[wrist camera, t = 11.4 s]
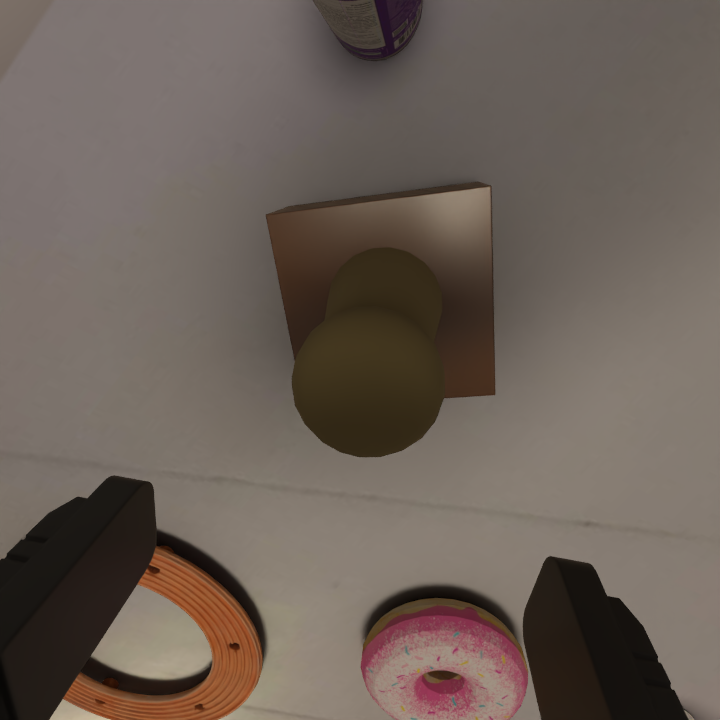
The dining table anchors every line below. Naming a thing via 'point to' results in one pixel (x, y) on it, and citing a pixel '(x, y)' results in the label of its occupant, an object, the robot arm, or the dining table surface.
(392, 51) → the container
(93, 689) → the ring
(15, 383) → the dining table surface
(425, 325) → the olive pawn
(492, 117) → the dining table surface
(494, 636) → the donut
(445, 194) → the walnut block
